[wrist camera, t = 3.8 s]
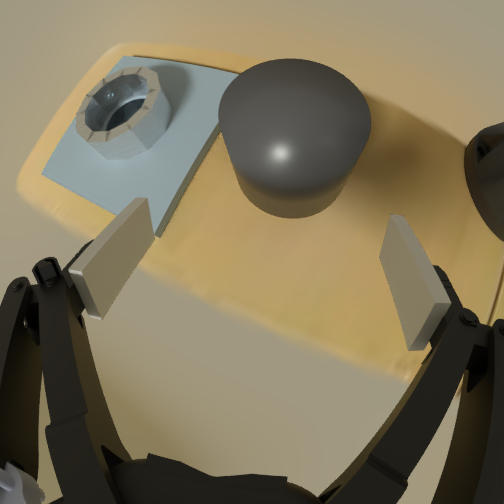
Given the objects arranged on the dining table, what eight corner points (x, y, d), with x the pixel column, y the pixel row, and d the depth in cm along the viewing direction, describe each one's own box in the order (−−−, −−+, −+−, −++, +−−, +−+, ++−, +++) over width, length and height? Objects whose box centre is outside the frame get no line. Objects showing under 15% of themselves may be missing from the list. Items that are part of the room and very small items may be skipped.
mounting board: (250, 85, 30) (249, 77, 29) (160, 238, 28) (153, 234, 26) (127, 62, 33) (123, 56, 32) (47, 178, 31) (41, 174, 29)
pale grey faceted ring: (180, 136, 28) (166, 113, 24) (98, 174, 28) (76, 158, 24) (164, 77, 30) (152, 54, 26) (93, 112, 30) (76, 93, 26)
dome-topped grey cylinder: (351, 212, 27) (397, 152, 15) (260, 244, 27) (246, 199, 15) (314, 133, 28) (328, 49, 16) (229, 159, 28) (202, 80, 17)
